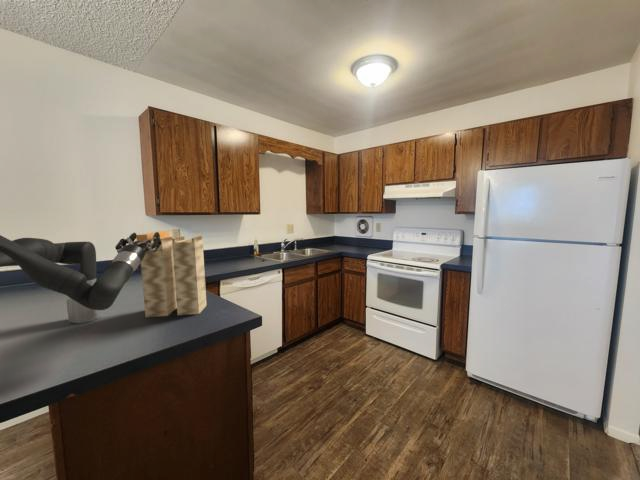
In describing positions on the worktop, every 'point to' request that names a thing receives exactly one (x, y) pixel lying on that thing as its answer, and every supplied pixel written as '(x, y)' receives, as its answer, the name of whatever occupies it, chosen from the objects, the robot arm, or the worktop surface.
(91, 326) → the worktop surface
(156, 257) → the rosette post
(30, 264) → the robot arm
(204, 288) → the post
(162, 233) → the bracket bar
